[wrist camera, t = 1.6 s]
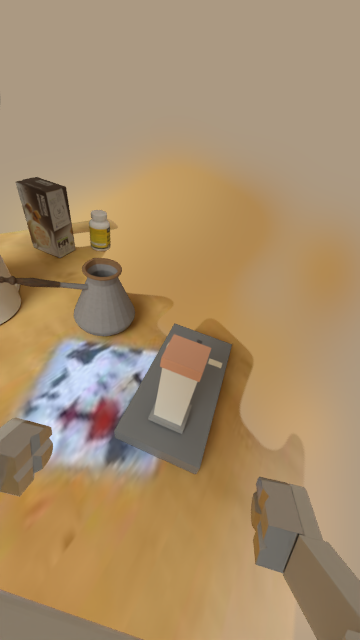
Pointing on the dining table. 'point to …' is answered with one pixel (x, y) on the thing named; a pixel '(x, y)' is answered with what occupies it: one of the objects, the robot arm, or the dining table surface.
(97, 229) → the supplement bottle
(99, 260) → the coffee pot
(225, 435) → the dining table surface
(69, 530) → the dining table surface
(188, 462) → the fader console
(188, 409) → the fader knob
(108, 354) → the dining table surface
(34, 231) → the coffee box
